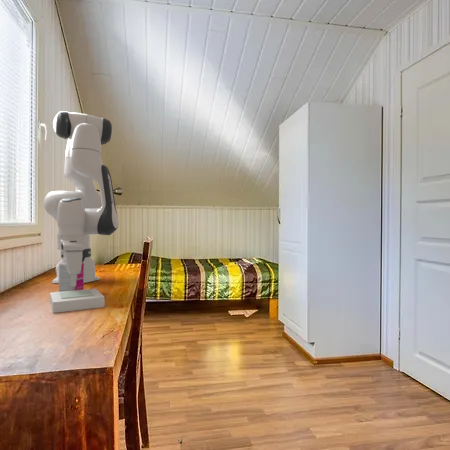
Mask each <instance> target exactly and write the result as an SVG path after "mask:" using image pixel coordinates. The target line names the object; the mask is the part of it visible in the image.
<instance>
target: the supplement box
mask: <svg viewBox="0 0 450 450" xmlns="http://www.w3.org/2000/svg"><path fill="white" fill-rule="evenodd" d="M83 274H84V263H82V266H81V272H80V273H79V274H77V280H76V286H73V287H71V286H70V274H69V273H68V272H67V270H66V263H63V264H59V283H58V284H59V285H58V292H62V291H73V290H84V283H83Z"/></svg>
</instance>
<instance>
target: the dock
mask: <svg viewBox="0 0 450 450" xmlns="http://www.w3.org/2000/svg"><path fill="white" fill-rule="evenodd" d="M49 303H50V308H51V310H52V313H53V314H57V313H65V312H72V311H81V310H89V309H90V310H91V309H100V308H105V296H104V295H103V294H102V293H101V292H100V291H99V290H98V289H97V288H87V289H85V288H83V290H73V291H62V292H59V291H53V292H49Z"/></svg>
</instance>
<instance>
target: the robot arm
mask: <svg viewBox="0 0 450 450" xmlns="http://www.w3.org/2000/svg"><path fill="white" fill-rule="evenodd" d="M52 125H53V130H54V132H55V134H56V136H58V137H59V138H61V139H64V140H67V143H66V148H65V157H64V170H63V174H64V177H65V178H66V179H67V181H69V182H71V183H72V184H73V185H74V188H75V190H73V191H72V190H53V191H50V192H48V193H47V194H46V195H45V197H44V200H43V207H44V210H45V212H47V214H48V215H50V216H51V217H52V218H53V219H54V220H55V221H56V223H57V226H58V227H57V228H58V230H57V235H56V236H57V237H56V239H57V242H56V244H57V246H56V247H57V251H61V252H60V258H61V259H60V261H59V262H58V263H57V265H56V266H55V273H56V274H55V275H56V277H55V278H54V279H53V280H52V284H59V264H63V263H66V270H67V272H68V273H69V274H70V286H71V287H73V286H76V280H77V274H79V273H80V272H81V266H82V263H84V274H83V284H86V283H90V282H95V281H99V280H100V277H99V276H96V263H95V260H94V259H93V258H91V257H92V249H91V239H90V238H91V235H101V236H110V235H112V234H113V233H115V232H116V231H117V230H118V228H119V222H120V221H119V215H118V211H117V208H116V207H117V206H116V201H115V194H114V188H113V180H112V176H111V175H112V174H111V172H110V169H109V167H108V166H106V165H105V163H104V162H103V159H102V145H106V144H107V143H110V141H111V139H112V137H113V131H114V130H113V129H114V128H113V125H112V123H111V121H110V120H109V119H107V118H105V117H100V116H95V115H92V114H88V113H80V112H69V111H67V110H65V111H63V110H61V111H58V112H57V113H56V115H55V117H54V119H53V122H52ZM94 182H96V183H97V185H98V188H99V192H98V190H97V189H96V187H95V184H94Z"/></svg>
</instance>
